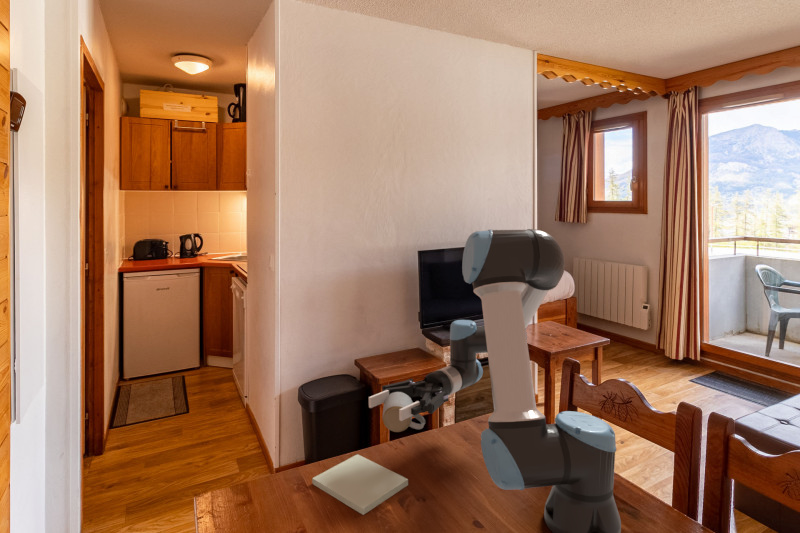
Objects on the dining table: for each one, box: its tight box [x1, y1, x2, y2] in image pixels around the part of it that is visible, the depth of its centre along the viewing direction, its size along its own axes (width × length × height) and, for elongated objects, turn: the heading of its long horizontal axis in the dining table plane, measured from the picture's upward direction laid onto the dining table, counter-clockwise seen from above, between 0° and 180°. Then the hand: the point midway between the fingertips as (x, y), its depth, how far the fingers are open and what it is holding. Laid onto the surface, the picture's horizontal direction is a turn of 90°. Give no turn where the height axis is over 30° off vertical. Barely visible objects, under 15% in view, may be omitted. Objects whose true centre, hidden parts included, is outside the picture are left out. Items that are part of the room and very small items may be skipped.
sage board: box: [311, 453, 409, 516], centre depth 117 cm, size 18×15×2 cm
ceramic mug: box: [382, 392, 426, 433], centre depth 121 cm, size 11×8×8 cm
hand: (384, 408), depth 118 cm, fingers closed on ceramic mug, 10 cm apart
